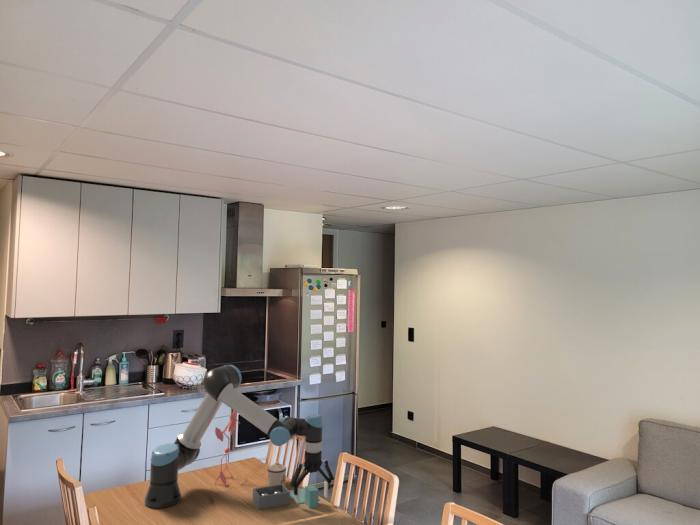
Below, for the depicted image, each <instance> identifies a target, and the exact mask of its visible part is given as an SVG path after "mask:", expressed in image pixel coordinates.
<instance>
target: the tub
mask: <svg viewBox="0 0 700 525" xmlns="http://www.w3.org/2000/svg"><path fill="white" fill-rule="evenodd" d="M275 491H281V493H277V494H274V492H275ZM262 493H268V495H265V496H261V494H262ZM290 498H291V496H290V490H289V489H288V488H287V486H286V485H285V486H284V485H283V484H278V485H272V486H261V487H260V486H259V487H255V488H252V502H253V504H254V505H255V507H256V508H257V510H258V511H260V510H265V509H271V508H276V507H281V506H288V505H290V504H291V502H290V501H291V500H290Z"/></svg>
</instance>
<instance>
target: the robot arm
mask: <svg viewBox="0 0 700 525" xmlns="http://www.w3.org/2000/svg"><path fill="white" fill-rule="evenodd" d="M241 383H242V374H241V370H240V369H239V368H238V367H236V366H235V365H233V364H224V365H223V366H219V367H215V368H212V369H210V370H209V371H207V372H206V373H205V375H204V377H203V382H202V385H203V388H204V392H206V393H205V395H204V397H203V398H202V401H201V403H200V404H199V406H198V407H197V409H196V411H195V413H194V415H193V417H192V418H191V419H190V421H189V422H188V426H187V427H186V429H185V430H184V431H183V432H180V433H179V435H177V438H176V439H175V441H174V442H173V443H164V444H160V445H158V446H157V447H155V448H154V449H153V450H152V451H151V456H150V473H149V474H150V475H149V486H148V489H147V490H146V494H145V496H144V505H145V506H146V507H148V508H153V509H164V508H169V507H172V506H175V505H177V504H179V503H180V501H181V499H182V492H181V489H180V486H179V482H178V479H179V478H178V477H179V471H180V470H182V469H183V468H185V467H186V466H187V467H188V466H189V465H191V464H193V462H195V461H196V460H197V459H198V457H199V455H200V452H201V449H200V448H201V446H202V442H201V440H202V438H203V436H204V435H205V433H206V431H207V430H208V428H209V426H210V425H211V423H212V421H213V419H214V418H215V416H216V414H217V413H218V411H219V409H220V407H221V406H222V404H224V405H226V406H227V407H229V408H230V409H231V410H232V411H235V413H236V412H237V415H238V414H239V415H240V417H242V418H244V419H245V420H246V421H247V422H249V423H251V424H252V425H254V426H255V428H258V429H259V430H260V431H261V432H263V433H264V434H266V435H267V436H268V437H269V440H270V442H271V443H272V445H274V446H276V447H280V446H281V447H282V446H283V445H285V444H287V443H288V442H289V441H290V440H291V439H292V438H294V437H296V436H298V437H304V462H303V463H301V462H297V464H296V469H295V472H294V473H293V476H292V478H291V480H290V483H289V485H290V487H291V488H293V490H294V494H295V495H296V500H295V501H296V502H297V503H299V496H300V489H301V488H300V487H299V486H300V485H301V483H302V482H303V481H304V479H305V478H306V477H307V476H308V474H309V473H310V474H312V473H317V472H318V473H320V475H321V476H322V477H323V479H324V482H323V483H324V484H323V497H324V498H326V499H328V498H329V490H330V489H331V483H332V481H334V480H335V478H334V475H333V473H332V471H331V469H330V466H329V461H328V460H327V459H326V458H324V459H323V460H322V453H323V452H322V449H323V446H322V445H323V428H324V427H323V426H324V425H323V417H322V415H321V414H318V413H308V414H307V415H305V418H299V417H292V416H284V417H280V420H279V419H278V418H276V417H275V416H273V414H271V413H270V412H268V411H266V410H265V409H264V408H263V407H261V406H260V405H259V404H257V403H255V401H253V400H251V399H250V398H248V397H247V396H246V395H244V394H242V392H240V391H239V390H237V388H238V387H239V386H240V385H241ZM322 465H323V466H324V469H325V471H326V473H327V475H326V473H325V472H324V471H323V469H322V468H321V466H322ZM302 469H303V470H302ZM295 501H294V502H295ZM296 502H295V503H296ZM297 503H296V504H297Z"/></svg>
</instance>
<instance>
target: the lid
mask: <svg viewBox="0 0 700 525" xmlns="http://www.w3.org/2000/svg"><path fill="white" fill-rule="evenodd" d="M289 491H290V498H291V499H292V500H293V501H294V502H295V503H296V504H297V505H300V504H305V506H307V507H308V508H309V509H313V508H318V507H319V501H320V498H319V489H318V488H317V487H316V486H315V485H314V484H312V485H305V486H304V487H303V488H300V496H299V503H297V502H296V501H295V500H296V495H295V494H294V489H291V490H289Z"/></svg>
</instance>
